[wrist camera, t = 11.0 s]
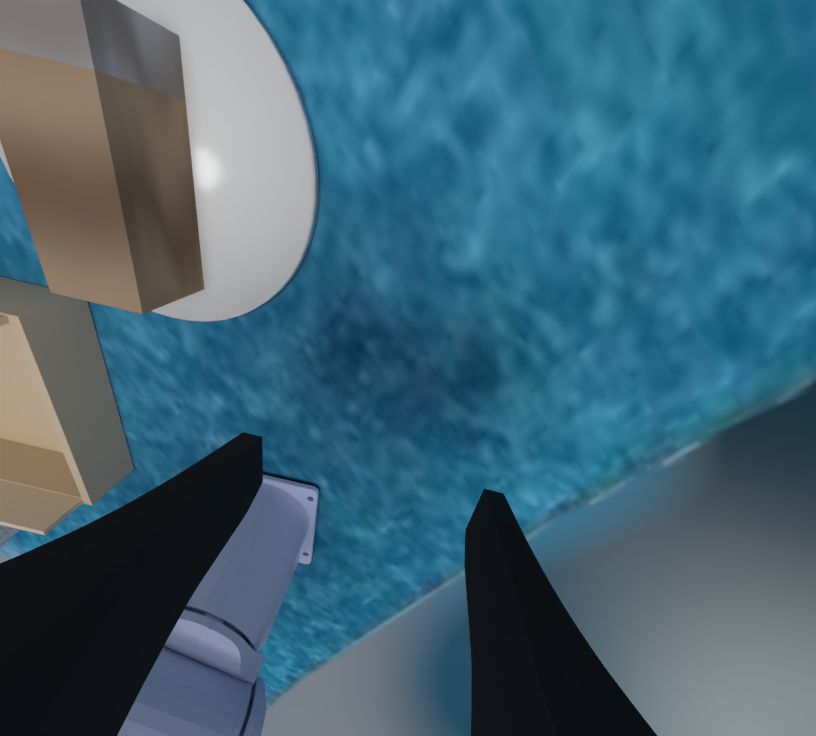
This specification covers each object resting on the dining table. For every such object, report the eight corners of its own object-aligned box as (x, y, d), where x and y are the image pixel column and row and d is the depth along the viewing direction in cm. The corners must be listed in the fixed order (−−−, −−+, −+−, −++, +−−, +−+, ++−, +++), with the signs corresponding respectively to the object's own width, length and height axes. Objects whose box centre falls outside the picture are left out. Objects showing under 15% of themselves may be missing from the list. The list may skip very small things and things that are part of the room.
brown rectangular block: (204, 289, 18) (142, 314, 14) (130, 272, 18) (50, 292, 14) (179, 36, 13) (75, -23, 9) (77, 12, 13) (-65, -56, 9)
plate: (309, 342, 19) (304, 348, 19) (57, 283, 19) (42, 287, 19) (333, -29, 12) (325, -42, 11) (-71, -121, 12) (-103, -141, 11)
